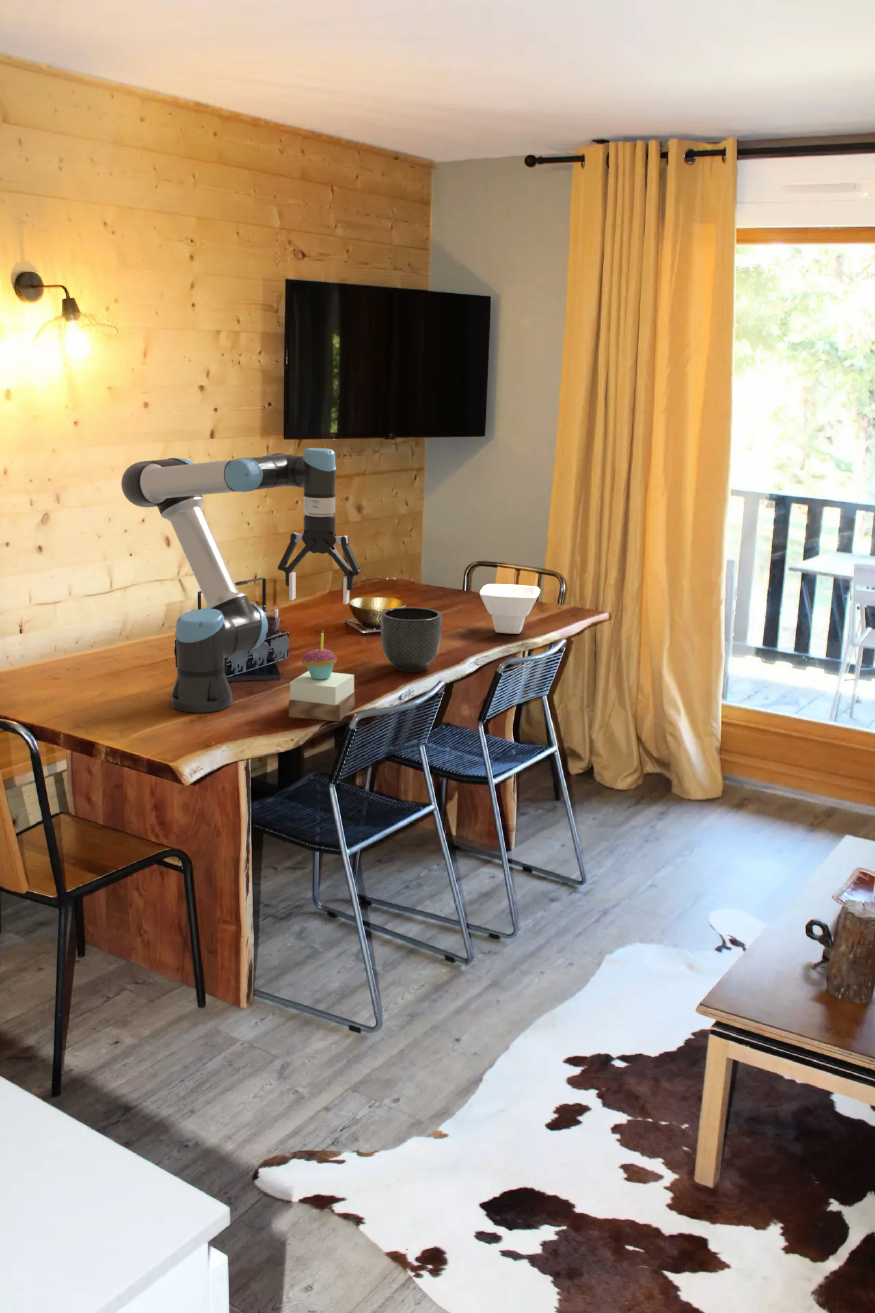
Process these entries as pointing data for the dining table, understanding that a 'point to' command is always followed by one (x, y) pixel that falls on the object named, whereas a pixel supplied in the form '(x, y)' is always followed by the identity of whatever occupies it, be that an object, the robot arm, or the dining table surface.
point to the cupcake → (319, 661)
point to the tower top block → (322, 688)
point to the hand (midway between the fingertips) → (319, 601)
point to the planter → (411, 637)
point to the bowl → (509, 605)
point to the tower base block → (321, 709)
